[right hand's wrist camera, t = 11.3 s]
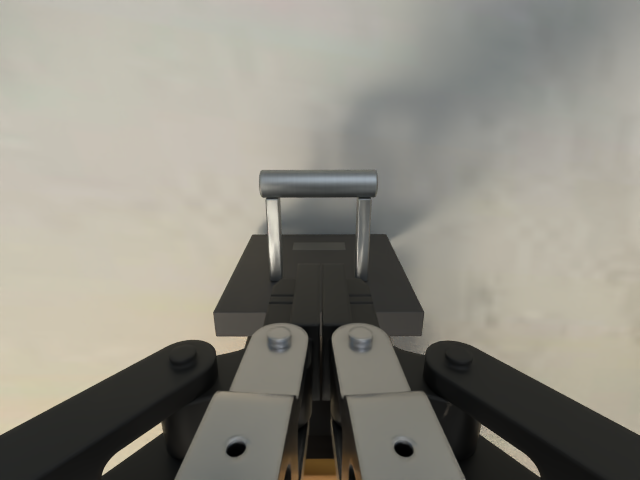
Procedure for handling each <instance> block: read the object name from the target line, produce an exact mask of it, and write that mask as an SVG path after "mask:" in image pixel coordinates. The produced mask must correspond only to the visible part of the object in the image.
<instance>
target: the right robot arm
mask: <svg viewBox="0 0 640 480" xmlns="http://www.w3.org/2000/svg"><path fill="white" fill-rule="evenodd" d="M322 400H330V403H331V436H332V444H333V452H334V460H335V468H336V476H337V480H640V435H638V434H636V433H634V432H632V431H630V430H629V429H627V428H625V427H623V426H621V425H619V424H617V423H615V422H614V421H612V420H610V419H608V418H606V417H604V416H602V415H600V414H599V413H597V412H595V411H593V410H591V409H589V408H587V407H585V406H584V405H582V404H580V403H578V402H576V401H574V400H572V399H570V398H569V397H567V396H565V395H563V394H561V393H559V392H557V391H555V390H554V389H552V388H550V387H548V386H546V385H544V384H542V383H540V382H539V381H537V380H535V379H533V378H531V377H529V376H527V375H525V374H524V373H522V372H520V371H518V370H516V369H514V368H512V367H510V366H509V365H507V364H505V363H503V362H501V361H499V360H497V359H495V358H494V357H492V356H490V355H488V354H486V353H484V352H482V351H480V350H479V349H477V348H475V347H473V346H471V345H468V344H465V343H461V342H457V341H440V342H436V343H434V344H432V345H430V346H429V347H428V348H427V350H426V354H425V355H421V354H417V353H412V352H408V351H404V350H402V349H399V348H397V347H395V346H393V345H392V344H391V341H390V339H389V337H388V335H387V334H386V333H385V332H384V331H383V330H382V329H380V326H379V323H378V319H377V315H376V311H375V307H374V304H373V300H372V297H371V292H370V288H369V286H368V285H367V284H366V283H365V282H364V281H363V280H362V279H361V278H346V274H345V267H344V264H322ZM312 401H320V264H298V267H297V274H296V278H281V279H280V280H279V281H278V282H277V283H276V284H275V285H274V286H273V288H272V292H271V297H270V300H269V304H268V308H267V312H266V316H265V320H264V324H263V327H262V328H260V329H258V330H257V331H256V332H255V333H254V334H253V335H252V337H251V339H250V341H249V344H248V346H247V347H246V348H244V349H242V350H239V351H235V352H231V353H227V354H222V355H217V356H216V351H215V348H214V347H213V346H212V345H211V344H209V343H207V342H204V341H200V340H186V341H181V342H177V343H174V344H171V345H169V346H167V347H165V348H163V349H161V350H160V351H158V352H156V353H154V354H152V355H150V356H148V357H146V358H145V359H143V360H141V361H139V362H137V363H135V364H133V365H131V366H130V367H128V368H126V369H124V370H122V371H120V372H118V373H116V374H115V375H113V376H111V377H109V378H107V379H105V380H103V381H101V382H100V383H98V384H96V385H94V386H92V387H90V388H88V389H86V390H85V391H83V392H81V393H79V394H77V395H75V396H73V397H71V398H70V399H68V400H66V401H64V402H62V403H60V404H58V405H56V406H55V407H53V408H51V409H49V410H47V411H45V412H43V413H41V414H40V415H38V416H36V417H34V418H32V419H30V420H28V421H26V422H25V423H23V424H21V425H19V426H17V427H15V428H13V429H11V430H10V431H8V432H6V433H4V434H2V435H0V480H303V476H304V468H305V460H306V452H307V444H308V436H309V419H310V416H311V413H312ZM159 423H162V428H163V433H162V434H160V435H159V436H158V437H156V438H155V439H153V440H152V441H151V442H149V443H148V444H146V445H145V446H144V447H142V448H141V449H139V450H138V451H137V452H135V453H134V454H132V455H131V456H130V457H128V458H127V459H125V460H124V461H123V462H121V463H120V464H118V465H117V466H115V467H114V468H113V469H111V470H110V471H108V472H107V473H106V474H104V475H103V476H102V472H103V469H104V467H105V465H106V464H107V462H108V461H109V460H110V459H111V458H112V456H114V455H115V454H116V453H117V452H118V451H120V450H121V449H123V448H124V447H126V446H127V445H128V444H130V443H131V442H133V441H134V440H136V439H137V438H139V437H140V436H142V435H143V434H144V433H146V432H147V431H149V430H150V429H152V428H153V427H155V426H156V425H158V424H159ZM481 424H482V425H484V426H485V427H487V428H488V429H490V430H491V431H493V432H494V433H496V434H497V435H498V436H500V437H501V438H503V439H504V440H506V441H507V442H509V443H510V444H512V445H513V446H514V447H516V448H517V449H519V450H520V451H522V452H523V453H524V454H526V455H527V456H528V457H529V458H530V459H531V460H532V461H533V462H534V464H535V465H536V467H537V468H538V470H539V473H540V476H541V478H540V477H539V476H537V475H536V474H534V473H533V472H532V471H530V470H529V469H527V468H526V467H525V466H523V465H522V464H520V463H519V462H517V461H516V460H515V459H513V458H512V457H510V456H509V455H508V454H506V453H505V452H503V451H502V450H501V449H499V448H498V447H496V446H495V445H494V444H492V443H491V442H489V441H488V440H487V439H485V438H484V437H482V436H481V435H480V434H479V433H480V428H481Z"/></svg>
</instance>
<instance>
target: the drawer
mask: <svg viewBox="0 0 640 480" xmlns="http://www.w3.org/2000/svg"><path fill="white" fill-rule="evenodd" d="M259 189H260V195H261V197H263V198H266V215H267V233H268V235H252V237H251V239H250V241H249V243H248V245H247V247H246V249H245V250H244V252H243V254H242V256H241V258H240V260H239V262H238V264H237V266H236V268H235V270H234V272H233V274H232V276H231V278H230V280H229V282H228V284H227V286H226V288H225V290H224V292H223V294H222V296H221V298H220V300H219V302H218V304H217V306H216V308H215V310H214V312H213V314H214V322H215V330H216V336H248V338H247V341H246V345H245V348H246V347H247V346H248V344H249V341H250V339H251V337H252V335H253V334H254V333H255V332H256V331H257V330H258V329H260V328H262V327H263V324H264V320H265V316H266V312H267V308H268V304H269V300H270V297H271V292H272V288H273V286H274V285H275V284H276V283H277V282H278V281H279V280H280V279H281V278H296V274H297V267H298V264H320V401H312V413H311V416H310V419H309V436H308V444H307V452H306V459H334V452H333V444H332V436H331V403H330V400H322V264H344V267H345V274H346V278H361V279H362V280H363V281H364V282H365V283H366V284H367V285H368V286H369V288H370V292H371V297H372V300H373V304H374V307H375V311H376V315H377V319H378V323H379V326H380V329H382V330H383V331H384V332H385V333H386V334H387V335H388V337H389V339H390V341H391V338H390V336H421V335H422V327H423V318H424V311H423V309H422V307H421V305H420V303H419V301H418V299H417V297H416V295H415V293H414V290H413V288H412V286H411V284H410V282H409V280H408V278H407V276H406V274H405V272H404V270H403V268H402V266H401V264H400V262H399V260H398V258H397V256H396V254H395V252H394V250H393V248H392V246H391V243H390V241H389V239H388V237H387V235H386V234H370V221H371V197H376V194H377V189H378V175H377V171H376V170H262V171H261V172H260V175H259ZM280 197H357V214H356V235H282V229H281V205H280ZM391 344H392V341H391Z"/></svg>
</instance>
